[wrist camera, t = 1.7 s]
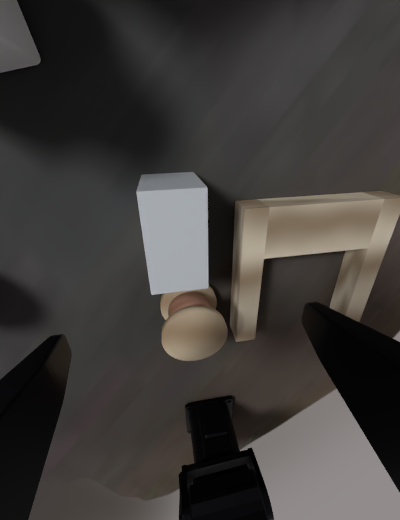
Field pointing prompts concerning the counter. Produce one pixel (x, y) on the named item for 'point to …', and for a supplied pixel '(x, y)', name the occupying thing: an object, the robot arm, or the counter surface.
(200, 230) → the tall pale grey block
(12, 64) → the medicine bottle
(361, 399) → the robot arm
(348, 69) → the counter surface
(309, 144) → the counter surface
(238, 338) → the notched board
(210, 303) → the wooden spool
